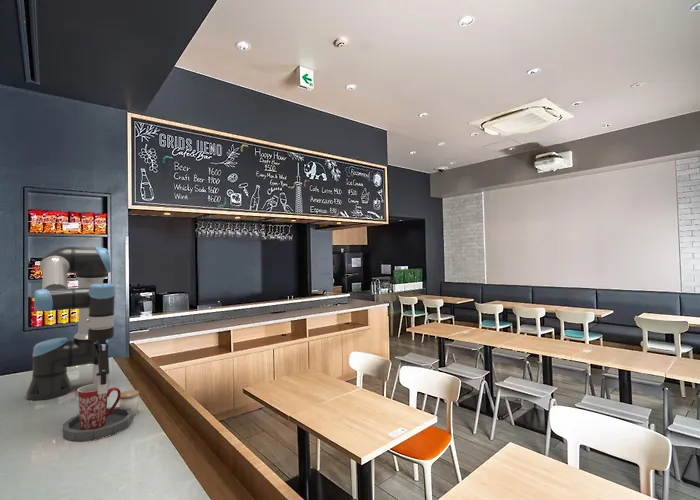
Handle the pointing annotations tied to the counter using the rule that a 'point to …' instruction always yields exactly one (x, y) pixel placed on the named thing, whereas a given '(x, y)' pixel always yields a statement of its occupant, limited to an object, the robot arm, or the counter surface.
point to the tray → (113, 425)
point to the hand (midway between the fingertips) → (99, 387)
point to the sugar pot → (129, 400)
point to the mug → (94, 406)
